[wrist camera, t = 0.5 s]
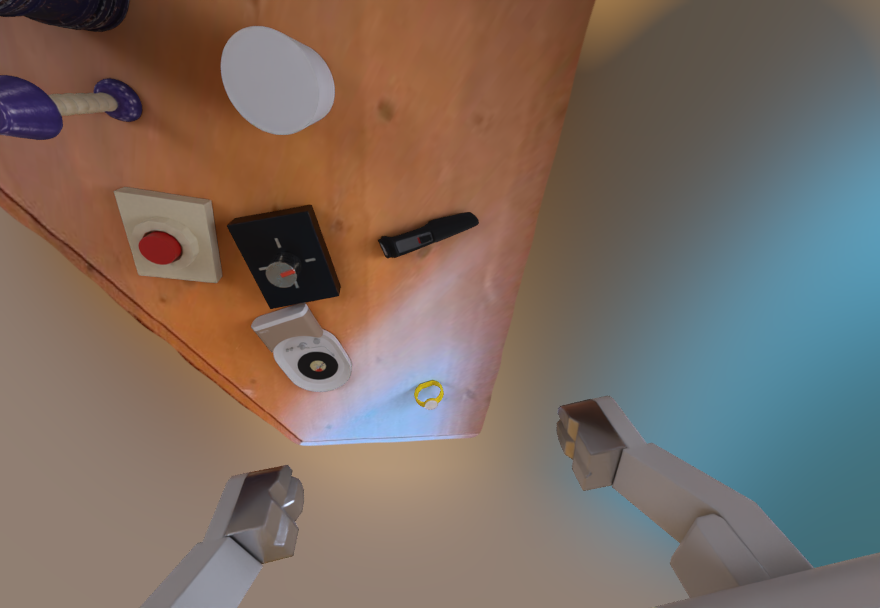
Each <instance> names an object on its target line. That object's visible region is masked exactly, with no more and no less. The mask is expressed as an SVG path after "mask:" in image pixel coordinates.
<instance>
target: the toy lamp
mask: <svg viewBox="0 0 880 608" xmlns="http://www.w3.org/2000/svg"><path fill="white" fill-rule="evenodd" d="M96 112H105V113H107V114H108V115H109V116H111V117H113V118H115V119H118V120H121V121H126V122H131V121H135V120H137V119H138V118H139V117H140V116H141V113H142V104H141V101H140V99H139V97H138V96H137V94H136V93H135V92H134V90H133V89H132V88H130V87H129V86H128V85H127V84H125V83H123V82H121V81H119V80H116V79H111V78H109V79H103V80H101V81H99V82H98V83H97V84H96V85H95V87H94V93H87V94H85V93H76V94H72V93H66V94H63V95H62V94H52V95H47V94H46V93H45V92H44V91H43V90H42V89H40V88H39V87H37V86H36V85H35V84H33V83H31V82H29V81H26V80H24V79H21V78H19V77H14V76H8V75H0V135H6V136H13V137H20V138H27V139H36V140H46V139H51V138H54V137H56V136H57V135H58V134H59V133H60V131H61V129H62V127H63V121H62V116H63V115H65V116H70V115H74V114H85V113H90V114H92V113H96Z"/></svg>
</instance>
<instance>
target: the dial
mask: <svg viewBox="0 0 880 608" xmlns="http://www.w3.org/2000/svg"><path fill="white" fill-rule="evenodd" d="M301 268H302V264H301V261H300V259H299V258H298V257H297V256H296V255H294V254H293V253H290V252H280V253H278V254H276V255H275V256H274V258H273V259H272V261H271V262H270V264H269V266H268V267H267V269H266V277H267V279H268V280H269V281H270V282H271V283H272V284H273V285H275V286H277V287H282V288H286V287H290V286H292V285H293V284H294V283H295V282H296V280H297V278H298V275H299V273H300V271H301Z"/></svg>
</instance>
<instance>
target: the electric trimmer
mask: <svg viewBox="0 0 880 608" xmlns="http://www.w3.org/2000/svg"><path fill="white" fill-rule="evenodd" d="M478 224H479V221H478V219H477V217H476V216H475V215H473V214H472V213H471V212H466V213H461V214H456V215H452V216H447V217H443V218H438V219H434V220H431V221H429V222H428V223H427V224H426V225H425V226H423V227H421V228H418V229H416V230H413V231H410V232H407V233H404V234H401V235H397V236H394V237H387V236H382V238H381V239H379V240H378V241H379V243H380V246H381V248H382V250H383V252H384V255H385V257H386V258H390V257H392V258H396V257H399V256H401V255H404V254H407V253H410V252H412V251H415V250H417V249H420V248H422V247H425V246H427V245H430V244H432V243H435V242H438V241H441V240H443V239H446V238H448V237H451V236H453V235H456V234H458V233H460V232H463V231H465V230H468V229H470V228H472V227H474V226H476V225H478Z"/></svg>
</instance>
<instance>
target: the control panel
mask: <svg viewBox="0 0 880 608" xmlns="http://www.w3.org/2000/svg"><path fill="white" fill-rule="evenodd" d="M227 227H228V229H229V231H230V233H231V235H232V237H233V239H234V241H235V243H236V244H237V246H238V248H239V250H240V252H241V254H242V256H243V258H244V260H245V262H246V263H247V265H248V267H249V269H250V271H251V273H252V275H253V277H254V279H255V281H256V283H257V284H258V286H259V288H260V290H261V292H262V294H263V296H264V298H265V300H266V302H267V304H268V305H269V307H270V309H273V308H278V307H283V306H289V305H294V304H299V303H305V302H310V301H315V300H320V299H326V298H331V297H336V296H339V293H340V288H341V286H340V283H339V280H338V277H337V275H336V272H335V269H334V266H333V263H332V261H331V258H330V255H329V252H328V249H327V247H326V244H325V241H324V238H323V235H322V233H321V230H320V227H319V224H318V221H317V219H316V216H315V213H314V210H313V208H312V205H307V206H302V207H296V208H290V209H285V210H279V211H273V212H268V213H262V214H256V215H251V216H245V217H239V218H235V219H234V220H232V221H231V222H230V223H229V224H228V225H227ZM280 252H290V253H293V254H294V255H296V256H297V257H298V258H299V259H300V261H301V264H302V268H301V271H300V273H299V275H298V278H297V280H296V282H295V283H294V284H293V285H292V286H290V287H286V288H282V287H277V286H275V285H273V284H272V283H271V282H270V281H269V280H268V279H267V277H266V269H267V267H268V266H269V264H270V262H271V261H272V259H273V258H274V256H275V255H276V254H278V253H280Z"/></svg>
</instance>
